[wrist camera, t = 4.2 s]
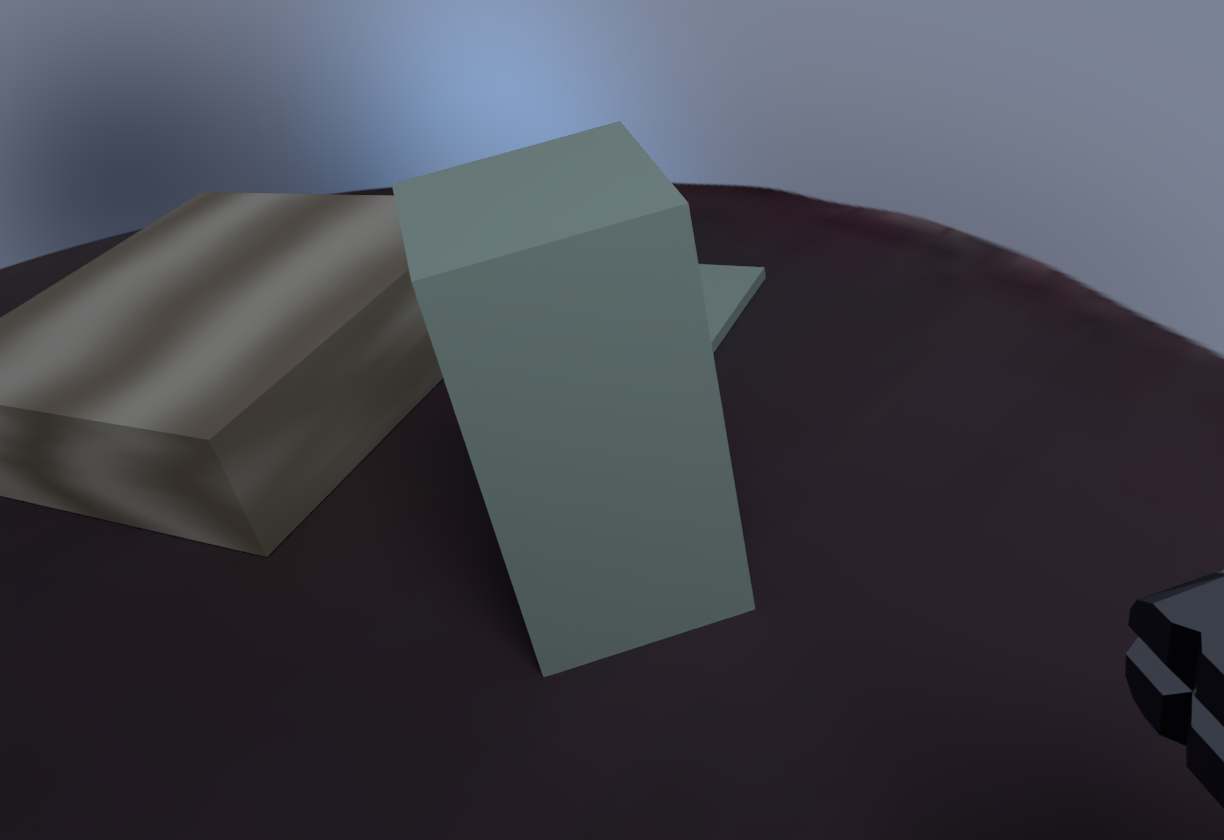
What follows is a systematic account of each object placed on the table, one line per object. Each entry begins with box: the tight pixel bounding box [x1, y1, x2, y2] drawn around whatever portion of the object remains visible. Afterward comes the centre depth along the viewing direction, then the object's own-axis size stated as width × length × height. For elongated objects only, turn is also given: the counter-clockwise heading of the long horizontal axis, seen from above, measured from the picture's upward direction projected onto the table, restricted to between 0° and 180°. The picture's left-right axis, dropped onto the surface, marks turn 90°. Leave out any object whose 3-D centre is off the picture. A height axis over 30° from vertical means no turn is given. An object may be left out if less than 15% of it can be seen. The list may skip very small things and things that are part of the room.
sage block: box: [392, 121, 755, 677], centre depth 24 cm, size 5×5×10 cm
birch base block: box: [0, 192, 443, 557], centre depth 37 cm, size 14×14×4 cm
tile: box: [698, 264, 766, 353], centre depth 36 cm, size 7×7×1 cm
